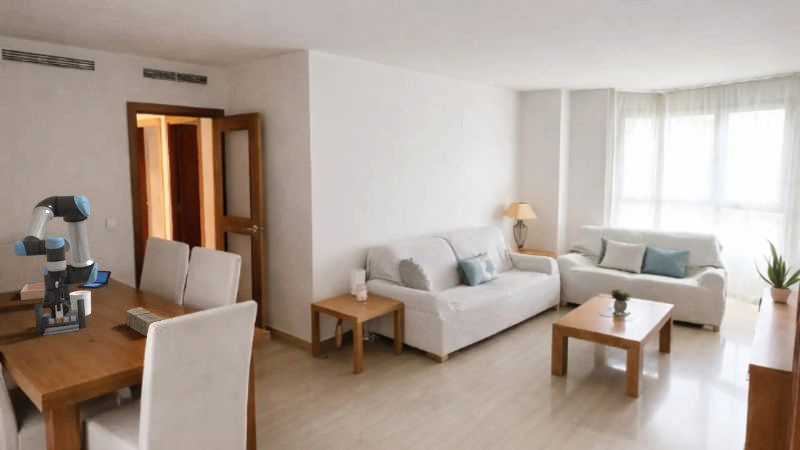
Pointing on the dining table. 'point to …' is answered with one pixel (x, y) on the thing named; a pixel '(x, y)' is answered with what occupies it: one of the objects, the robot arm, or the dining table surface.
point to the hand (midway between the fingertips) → (60, 314)
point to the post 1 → (39, 318)
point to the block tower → (141, 319)
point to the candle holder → (81, 295)
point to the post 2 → (81, 313)
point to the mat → (61, 329)
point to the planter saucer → (33, 291)
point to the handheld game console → (98, 280)
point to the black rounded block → (64, 305)
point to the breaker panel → (61, 319)
